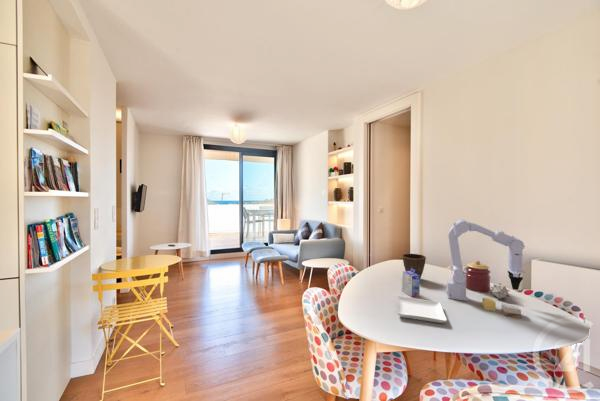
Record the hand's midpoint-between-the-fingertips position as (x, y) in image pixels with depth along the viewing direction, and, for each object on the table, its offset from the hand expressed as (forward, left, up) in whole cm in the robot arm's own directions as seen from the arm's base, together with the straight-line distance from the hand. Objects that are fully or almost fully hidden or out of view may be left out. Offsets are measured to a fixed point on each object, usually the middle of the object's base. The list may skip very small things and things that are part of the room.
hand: (514, 287), depth 135 cm
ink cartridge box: (-50, -2, -10) cm, 51 cm away
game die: (-4, +9, -10) cm, 14 cm away
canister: (-12, +22, -10) cm, 27 cm away
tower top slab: (-5, -12, -8) cm, 15 cm away
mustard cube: (-13, -8, -10) cm, 18 cm away
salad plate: (-46, -27, -11) cm, 54 cm away
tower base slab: (-5, -12, -10) cm, 17 cm away
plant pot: (-48, +27, -10) cm, 56 cm away
